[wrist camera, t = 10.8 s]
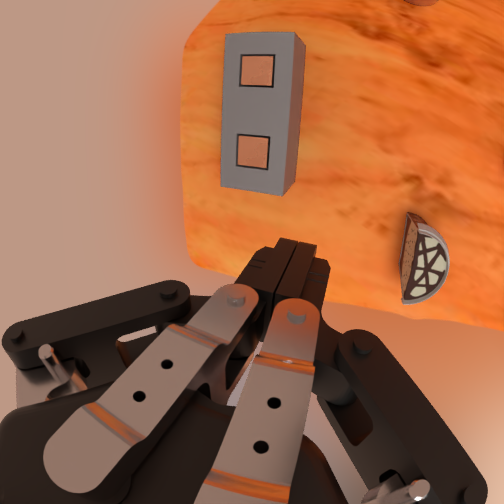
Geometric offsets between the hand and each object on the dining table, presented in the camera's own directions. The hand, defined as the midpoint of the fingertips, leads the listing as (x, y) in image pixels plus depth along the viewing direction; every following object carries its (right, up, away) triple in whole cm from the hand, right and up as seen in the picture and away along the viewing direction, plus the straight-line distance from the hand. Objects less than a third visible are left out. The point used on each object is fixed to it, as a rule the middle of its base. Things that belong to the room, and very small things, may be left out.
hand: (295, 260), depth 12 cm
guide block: (+1, +22, +27) cm, 35 cm away
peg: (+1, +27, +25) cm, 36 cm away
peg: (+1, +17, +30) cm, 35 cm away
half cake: (+26, +2, +29) cm, 39 cm away
